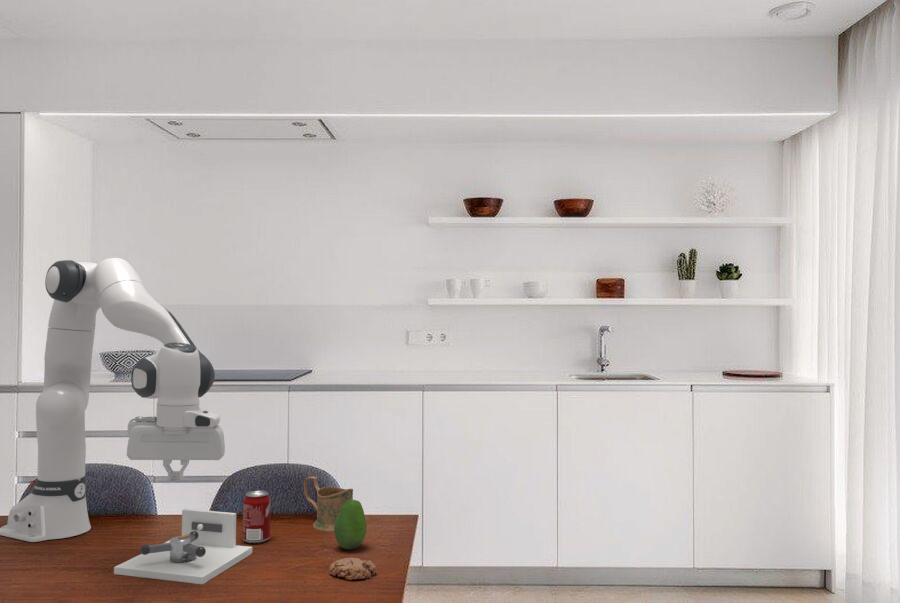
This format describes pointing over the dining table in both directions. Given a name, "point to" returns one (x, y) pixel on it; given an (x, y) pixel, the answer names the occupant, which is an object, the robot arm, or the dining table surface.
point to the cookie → (352, 568)
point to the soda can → (256, 517)
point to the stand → (213, 536)
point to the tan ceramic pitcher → (327, 504)
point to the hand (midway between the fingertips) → (175, 480)
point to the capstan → (177, 548)
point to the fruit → (350, 525)
